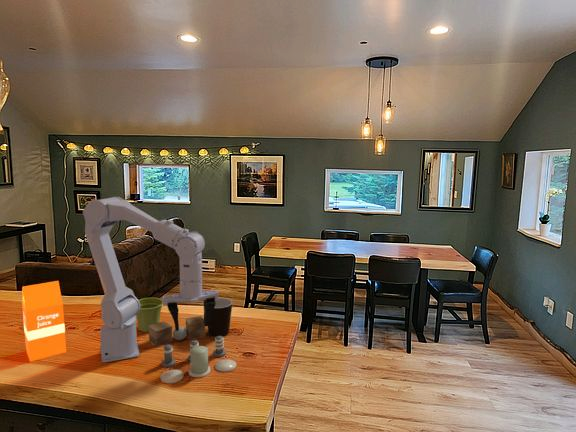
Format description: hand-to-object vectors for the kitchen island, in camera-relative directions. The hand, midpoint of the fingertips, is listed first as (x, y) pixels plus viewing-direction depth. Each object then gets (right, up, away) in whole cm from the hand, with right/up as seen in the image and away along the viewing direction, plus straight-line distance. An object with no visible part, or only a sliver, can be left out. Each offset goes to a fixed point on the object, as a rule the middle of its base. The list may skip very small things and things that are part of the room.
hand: (191, 327), depth 106 cm
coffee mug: (+4, -7, +21) cm, 22 cm away
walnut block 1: (-12, -8, +13) cm, 19 cm away
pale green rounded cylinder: (+3, -10, -3) cm, 11 cm away
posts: (0, -10, +3) cm, 10 cm away
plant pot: (-19, -7, +21) cm, 29 cm away
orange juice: (-43, -9, +5) cm, 44 cm away
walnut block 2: (-3, -7, +17) cm, 19 cm away
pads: (+3, -11, -3) cm, 12 cm away
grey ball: (-7, -8, +14) cm, 17 cm away
